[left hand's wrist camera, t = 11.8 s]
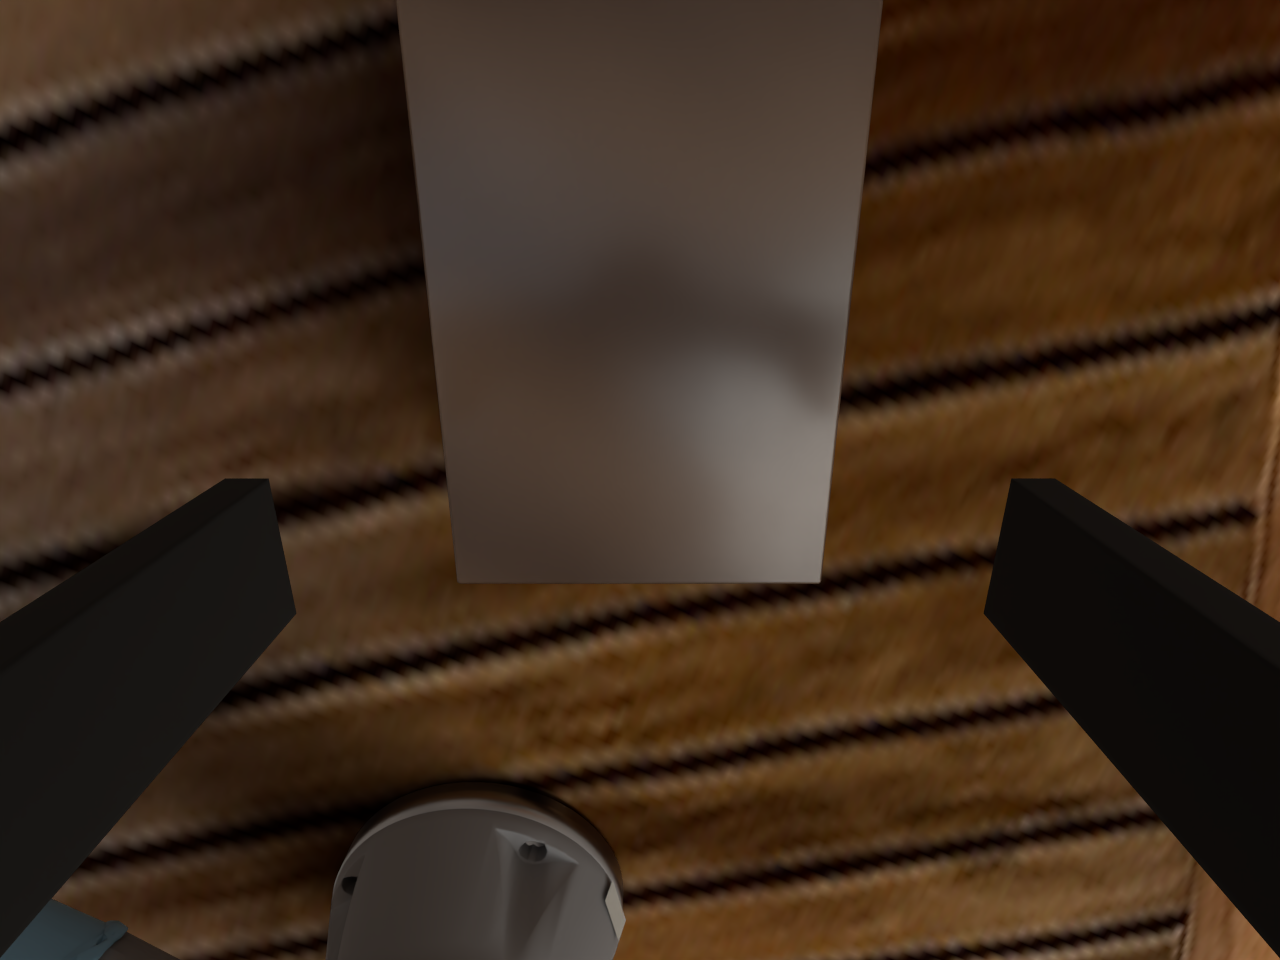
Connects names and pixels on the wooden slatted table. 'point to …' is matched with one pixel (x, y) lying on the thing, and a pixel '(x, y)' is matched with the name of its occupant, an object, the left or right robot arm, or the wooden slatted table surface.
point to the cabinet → (639, 277)
